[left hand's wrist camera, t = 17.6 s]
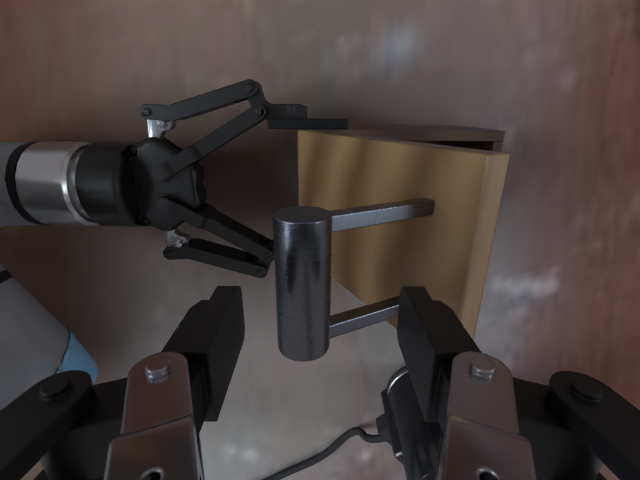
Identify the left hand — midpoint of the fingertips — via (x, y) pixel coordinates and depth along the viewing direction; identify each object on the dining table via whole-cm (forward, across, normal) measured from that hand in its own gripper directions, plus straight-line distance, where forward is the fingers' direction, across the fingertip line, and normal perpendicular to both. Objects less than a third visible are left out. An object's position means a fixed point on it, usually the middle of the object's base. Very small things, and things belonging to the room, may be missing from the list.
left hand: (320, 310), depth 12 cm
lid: (+11, -3, 0) cm, 11 cm away
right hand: (+21, -2, 0) cm, 21 cm away
